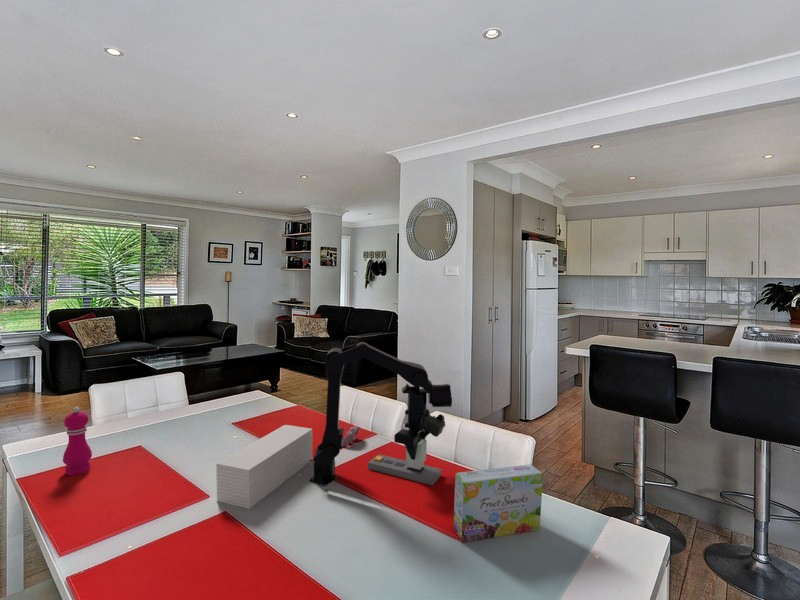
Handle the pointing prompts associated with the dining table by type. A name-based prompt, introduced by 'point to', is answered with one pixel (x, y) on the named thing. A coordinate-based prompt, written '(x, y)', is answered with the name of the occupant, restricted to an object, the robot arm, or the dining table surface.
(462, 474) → the snack box
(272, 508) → the dining table surface
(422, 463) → the block
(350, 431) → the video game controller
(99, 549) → the dining table surface
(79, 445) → the pepper mill
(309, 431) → the stack of papers
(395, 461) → the power strip
